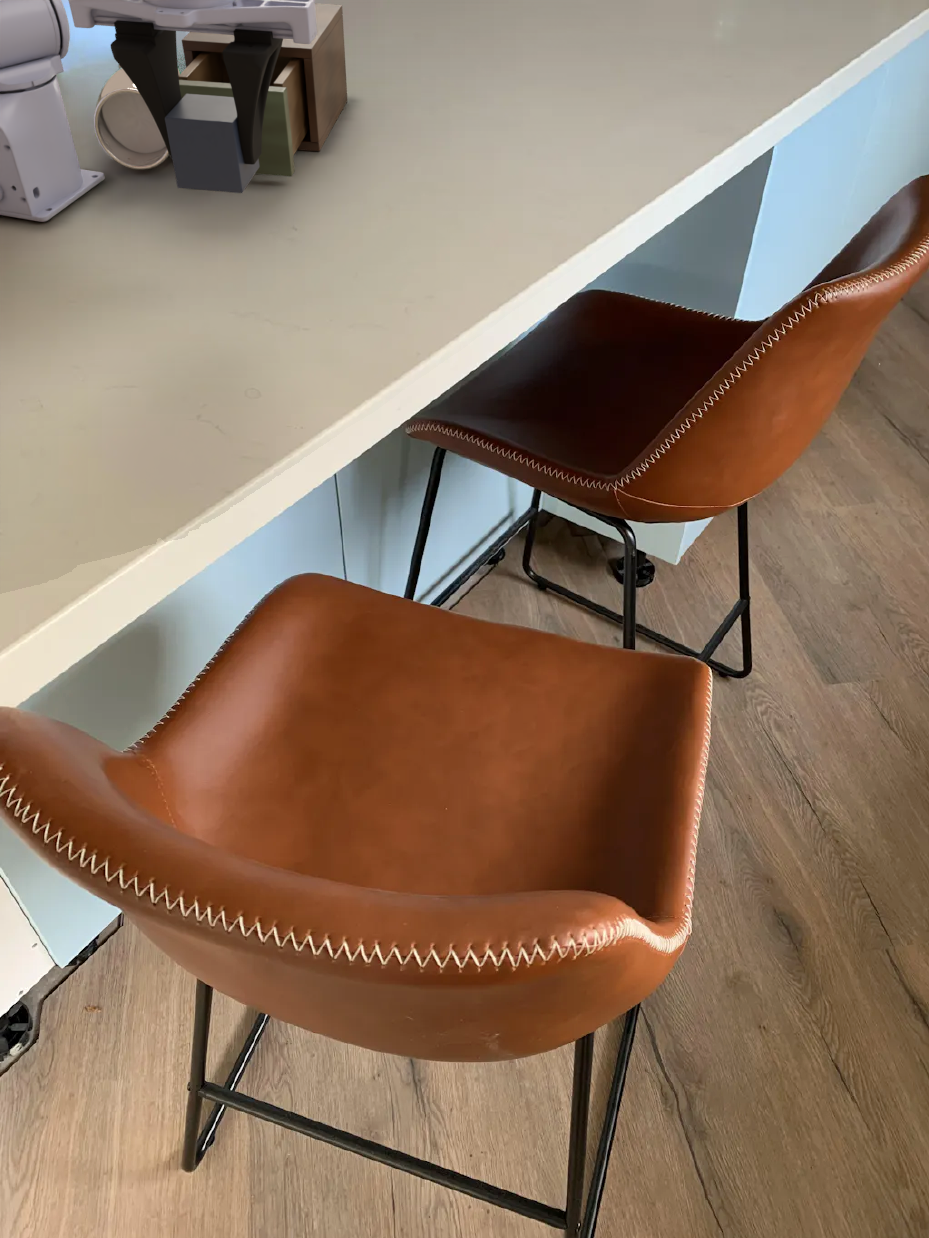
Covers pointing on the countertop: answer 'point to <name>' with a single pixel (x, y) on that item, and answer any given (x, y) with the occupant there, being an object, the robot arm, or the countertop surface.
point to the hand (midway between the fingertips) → (215, 155)
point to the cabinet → (319, 64)
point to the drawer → (282, 108)
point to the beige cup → (127, 125)
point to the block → (207, 145)
